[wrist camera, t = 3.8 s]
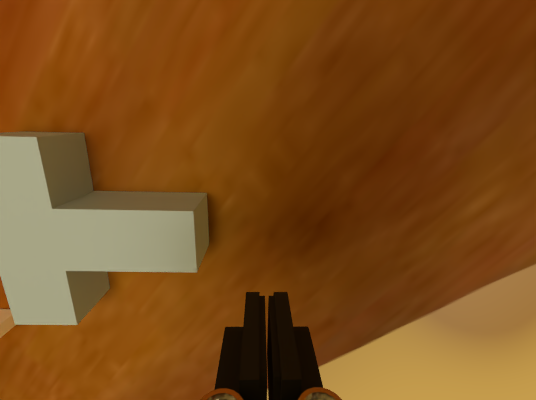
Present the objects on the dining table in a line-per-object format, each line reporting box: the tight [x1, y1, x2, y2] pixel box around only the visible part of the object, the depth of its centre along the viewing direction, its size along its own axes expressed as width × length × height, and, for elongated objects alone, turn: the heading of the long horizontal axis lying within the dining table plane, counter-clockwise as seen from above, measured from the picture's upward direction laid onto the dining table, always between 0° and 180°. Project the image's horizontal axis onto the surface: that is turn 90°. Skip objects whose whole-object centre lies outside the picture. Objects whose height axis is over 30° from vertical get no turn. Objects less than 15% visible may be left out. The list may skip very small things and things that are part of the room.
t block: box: [0, 132, 209, 325], centre depth 18 cm, size 12×12×4 cm
